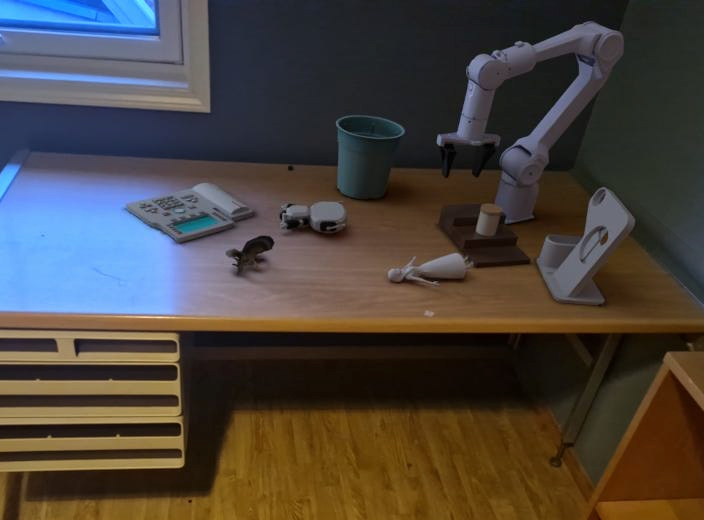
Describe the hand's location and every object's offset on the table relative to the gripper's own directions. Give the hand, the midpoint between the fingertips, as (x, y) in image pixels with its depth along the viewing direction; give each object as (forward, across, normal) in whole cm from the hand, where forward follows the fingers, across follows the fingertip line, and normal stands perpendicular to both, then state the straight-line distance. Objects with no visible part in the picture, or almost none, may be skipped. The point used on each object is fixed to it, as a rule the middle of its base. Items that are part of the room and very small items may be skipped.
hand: (459, 176), depth 151 cm
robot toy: (+11, -34, -1) cm, 36 cm away
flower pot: (+11, -16, +17) cm, 26 cm away
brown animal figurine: (+12, -52, -17) cm, 56 cm away
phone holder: (+10, +13, -31) cm, 35 cm away
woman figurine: (+11, -16, -25) cm, 32 cm away
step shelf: (+10, +2, -13) cm, 17 cm away
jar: (+7, +2, -13) cm, 15 cm away
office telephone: (+12, -60, +8) cm, 61 cm away
